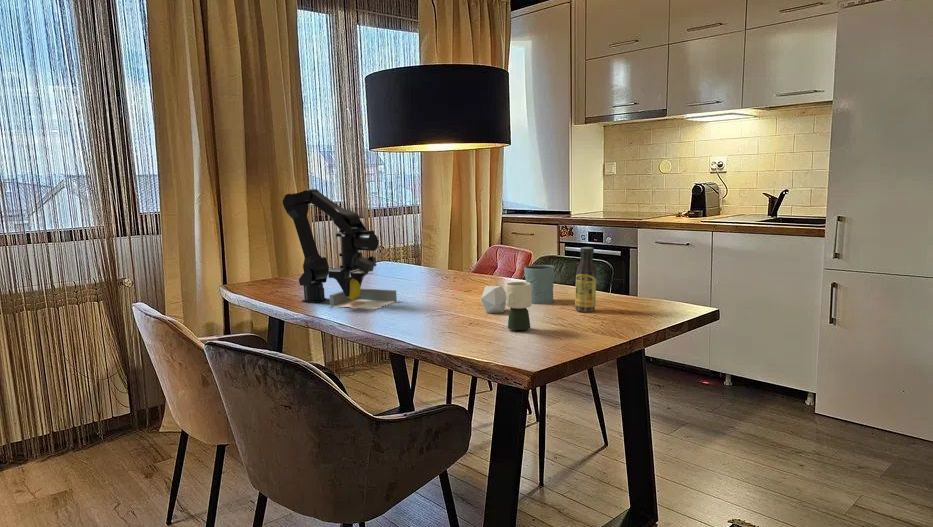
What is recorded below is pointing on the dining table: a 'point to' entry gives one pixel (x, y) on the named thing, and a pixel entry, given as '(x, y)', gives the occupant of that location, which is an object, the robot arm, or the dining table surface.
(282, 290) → the dining table surface
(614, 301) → the dining table surface
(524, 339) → the dining table surface
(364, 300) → the arena
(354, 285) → the lemon
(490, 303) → the die
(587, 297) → the sauce bottle
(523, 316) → the character mug
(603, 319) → the dining table surface
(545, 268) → the blue grey cup
